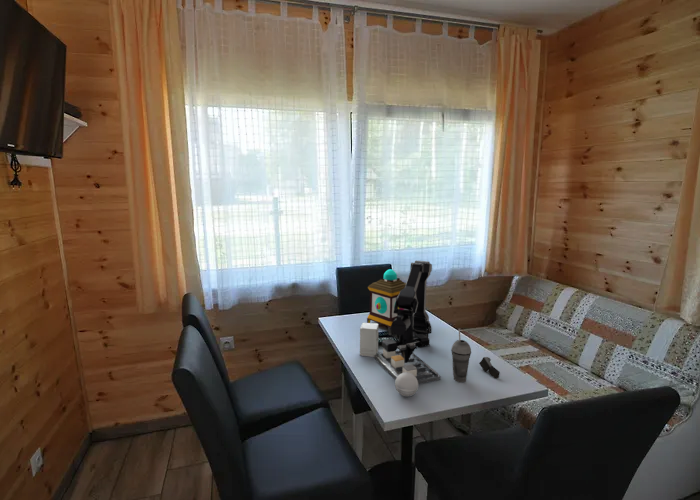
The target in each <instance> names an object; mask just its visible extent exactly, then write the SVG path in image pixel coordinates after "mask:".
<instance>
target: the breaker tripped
mask: <svg viewBox="0 0 700 500" xmlns="http://www.w3.org/2000/svg"><path fill="white" fill-rule="evenodd" d="M391 365H392V366H393V367H394V368H397V367H402V366H404V358H403V357H402V356H401V355H397V356H391Z"/></svg>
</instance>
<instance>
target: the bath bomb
mask: <svg viewBox="0 0 700 500" xmlns="http://www.w3.org/2000/svg"><path fill="white" fill-rule="evenodd" d="M394 384H395V385H394V387H395V389H396V391H397V393H398V394H399V395H401V396H403V397H405V398H406V397H407V398H408V397H409V398H410V397H411V396H414V395H415V394H416V393H417V391H418V389H419V384H418V381H417V379H416V377H415V376H414V375H413V374H411V373H408V372H404V373H401V374H400V375H398V377H397V378H396V380H395V382H394Z"/></svg>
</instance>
